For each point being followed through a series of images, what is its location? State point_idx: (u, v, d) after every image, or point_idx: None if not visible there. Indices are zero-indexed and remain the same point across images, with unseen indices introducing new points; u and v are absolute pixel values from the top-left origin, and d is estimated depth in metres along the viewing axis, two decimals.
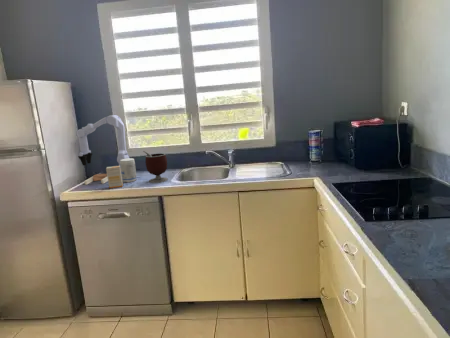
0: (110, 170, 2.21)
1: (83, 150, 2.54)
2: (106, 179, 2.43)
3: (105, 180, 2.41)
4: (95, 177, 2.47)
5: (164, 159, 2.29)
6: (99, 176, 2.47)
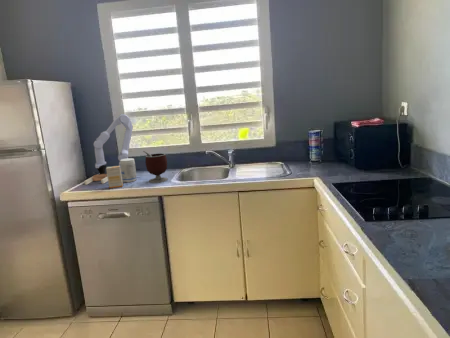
0: (110, 170, 2.21)
1: (99, 162, 2.48)
2: (106, 179, 2.43)
3: (105, 180, 2.41)
4: (95, 177, 2.47)
5: (164, 159, 2.29)
6: (98, 176, 2.46)
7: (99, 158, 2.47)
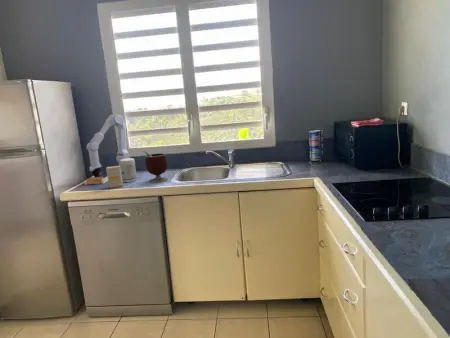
0: (110, 170, 2.21)
1: (94, 164, 2.39)
2: (106, 179, 2.43)
3: (105, 180, 2.41)
4: (89, 180, 2.38)
5: (164, 159, 2.29)
6: (93, 180, 2.37)
7: (93, 160, 2.38)
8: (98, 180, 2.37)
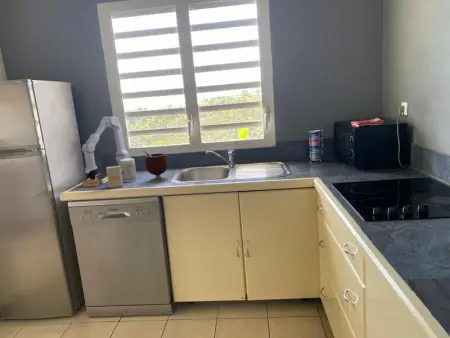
0: (110, 170, 2.21)
1: (89, 166, 2.32)
2: (106, 179, 2.43)
3: (105, 180, 2.41)
4: (85, 183, 2.31)
5: (164, 159, 2.29)
6: (88, 182, 2.31)
7: (89, 162, 2.32)
8: (94, 183, 2.31)
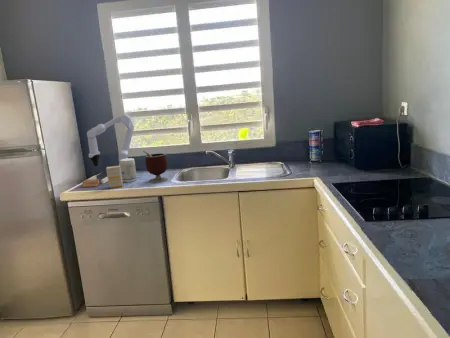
0: (110, 170, 2.21)
1: (92, 151, 2.47)
2: (106, 179, 2.43)
3: (105, 180, 2.41)
4: (85, 183, 2.31)
5: (164, 159, 2.29)
6: (88, 182, 2.31)
7: (92, 148, 2.47)
8: (94, 183, 2.31)
